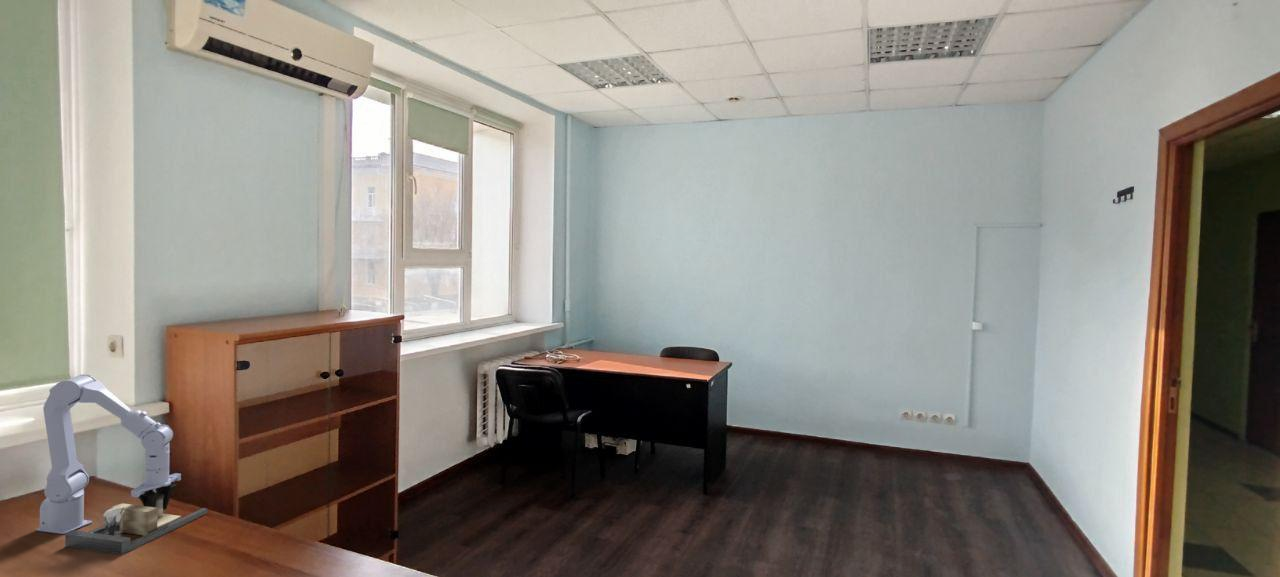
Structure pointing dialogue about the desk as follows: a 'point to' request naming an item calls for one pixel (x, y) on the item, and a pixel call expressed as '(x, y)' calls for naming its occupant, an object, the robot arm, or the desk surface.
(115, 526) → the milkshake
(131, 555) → the desk surface
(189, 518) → the grey tray
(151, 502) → the robot arm
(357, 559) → the desk surface
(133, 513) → the clamp jaw
